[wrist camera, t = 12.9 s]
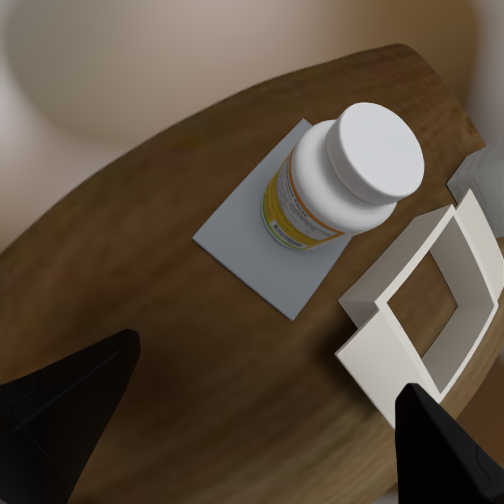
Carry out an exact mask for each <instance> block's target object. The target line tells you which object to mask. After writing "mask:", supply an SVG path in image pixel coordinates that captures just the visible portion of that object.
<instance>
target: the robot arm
mask: <svg viewBox="0 0 504 504" xmlns="http://www.w3.org/2000/svg"><path fill="white" fill-rule="evenodd" d="M140 351H141V349H140V338H139V333H138V332H137V331H134V330H131V329H124V330H122V331H120V332H118V333H116V334H114V335H112V336H109V337H107V338H105V339H103V340H101V341H99V342H97V343H95V344H93V345H91V346H89V347H86V348H84V349H82V350H80V351H78V352H76V353H74V354H72V355H69V356H67V357H65V358H63V359H61V360H59V361H57V362H55V363H52V364H50V365H48V366H46V367H44V368H42V369H39V370H37V371H35V372H33V373H31V374H28V375H26V376H24V377H21V378H19V379H16V380H13V381H10V382H8V383H5V384H2V385H0V504H67V502H68V500H69V498H70V496H71V494H72V492H73V490H74V488H75V487H74V486H75V485H76V483H77V481H78V479H79V477H80V475H81V473H82V471H83V469H84V467H85V465H86V463H87V461H88V459H89V458H90V456H91V454H92V452H93V450H94V448H95V446H96V444H97V442H98V440H99V438H100V437H101V435H102V433H103V431H104V429H105V427H106V425H107V424H108V422H109V420H110V418H111V416H112V414H113V413H114V411H115V409H116V407H117V405H118V404H119V402H120V400H121V398H122V396H123V394H124V392H125V390H126V388H127V385H128V383H129V380H130V378H131V375H132V373H133V371H134V368H135V366H136V363H137V361H138V359H139V356H140ZM395 447H396V459H397V474H398V504H504V469H503V468H502V467H501V466H500V465H498V464H497V463H496V462H495V461H494V460H493V459H492V458H490V456H489V455H488V454H487V453H486V452H485V451H484V450H483V449H482V448H481V447H480V446H479V445H478V444H476V442H475V441H474V440H473V439H472V438H471V437H470V436H469V435H468V433H466V431H465V430H464V429H463V428H462V427H461V426H460V425H459V424H458V423H457V422H456V421H455V420H454V419H453V418H452V417H451V416H450V415H449V414H448V413H447V412H446V411H445V410H444V409H443V408H442V407H441V406H440V405H439V404H438V403H437V402H436V401H435V400H434V399H433V398H432V397H431V396H430V395H429V394H428V393H427V392H426V391H425V390H424V389H423V388H422V387H421V386H420V385H419V384H418V383H407V384H406V385H405V386H404V388H403V389H402V391H401V392H400V393H399V395H398V396H397V398H396V400H395Z"/></svg>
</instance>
